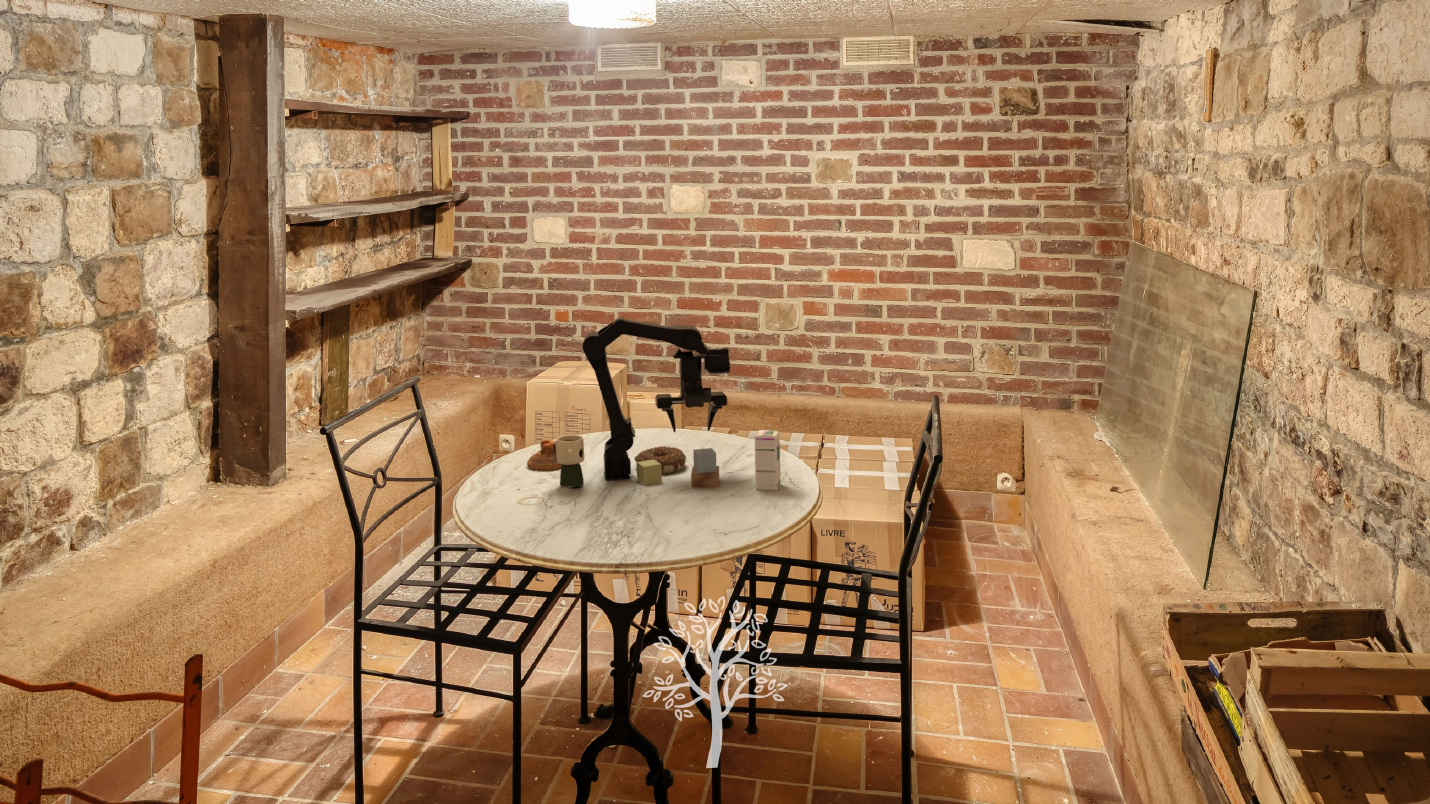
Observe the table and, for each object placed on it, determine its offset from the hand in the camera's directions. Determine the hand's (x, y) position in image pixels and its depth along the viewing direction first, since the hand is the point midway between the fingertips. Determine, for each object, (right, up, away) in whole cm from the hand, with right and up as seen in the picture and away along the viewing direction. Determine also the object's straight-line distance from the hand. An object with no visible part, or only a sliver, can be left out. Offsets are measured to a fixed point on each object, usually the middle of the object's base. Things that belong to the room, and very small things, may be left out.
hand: (691, 431), depth 270 cm
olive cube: (-11, -13, -3) cm, 17 cm away
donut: (-9, -11, +8) cm, 16 cm away
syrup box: (+20, -14, -10) cm, 26 cm away
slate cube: (+4, -10, -7) cm, 13 cm away
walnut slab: (+4, -14, -6) cm, 16 cm away
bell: (-40, -10, +13) cm, 44 cm away
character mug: (-31, -14, -6) cm, 35 cm away
